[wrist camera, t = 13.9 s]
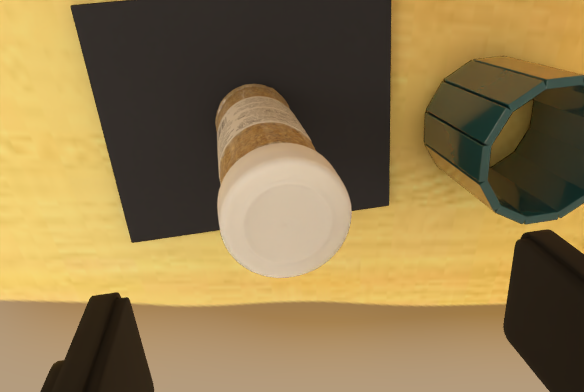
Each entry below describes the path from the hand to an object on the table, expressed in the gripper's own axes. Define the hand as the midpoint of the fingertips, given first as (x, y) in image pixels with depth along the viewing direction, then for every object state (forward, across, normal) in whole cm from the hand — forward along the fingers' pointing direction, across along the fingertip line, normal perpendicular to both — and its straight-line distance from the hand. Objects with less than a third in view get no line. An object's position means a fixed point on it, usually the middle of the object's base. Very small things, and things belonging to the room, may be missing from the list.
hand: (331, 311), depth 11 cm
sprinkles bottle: (+18, +1, 0) cm, 18 cm away
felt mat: (+19, +1, 0) cm, 19 cm away
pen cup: (+19, -14, +2) cm, 24 cm away
